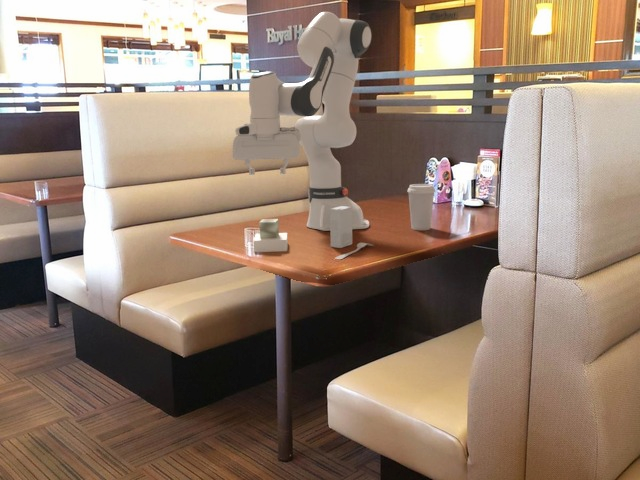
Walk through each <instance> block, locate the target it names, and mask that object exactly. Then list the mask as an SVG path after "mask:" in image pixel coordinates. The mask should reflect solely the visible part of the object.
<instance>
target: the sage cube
mask: <svg viewBox="0 0 640 480" xmlns="http://www.w3.org/2000/svg"><path fill="white" fill-rule="evenodd" d="M258 225H259V234H260V238H277V237H278V235H279V233H280V232H279V231H280V230H279V227H280V226H279V219H278V218H263V219H261V220H260V221H259V222H258Z"/></svg>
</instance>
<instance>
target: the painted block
mask: <svg viewBox="0 0 640 480" xmlns="http://www.w3.org/2000/svg"><path fill="white" fill-rule="evenodd" d="M288 242H289V241H288V232H279V235H278V237H277V238H260V233H255V235H254V237H253V252H254V253H268V252H287V251H288V245H289V243H288Z"/></svg>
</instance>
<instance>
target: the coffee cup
mask: <svg viewBox="0 0 640 480" xmlns="http://www.w3.org/2000/svg"><path fill="white" fill-rule="evenodd" d="M407 193H408V201H409V204H408V205H409V211H410V212H409V215H410V226H411V230H414V231H428V230H431V227H432V226H431V225H432V217H433V216H432V215H433V207H434V206H433V205H434V196H435V193H436V189H435V187H434V185H433V184H430V183H414V184H409V187H408V188H407Z"/></svg>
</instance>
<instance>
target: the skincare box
mask: <svg viewBox="0 0 640 480" xmlns="http://www.w3.org/2000/svg"><path fill="white" fill-rule="evenodd" d="M329 234H330V235H329V236H330V247H331V248H337V249H342V248H345V247H348V246H351V245H353V229H352V207H348V206H340V207H336V208H332V209H330V233H329Z"/></svg>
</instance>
